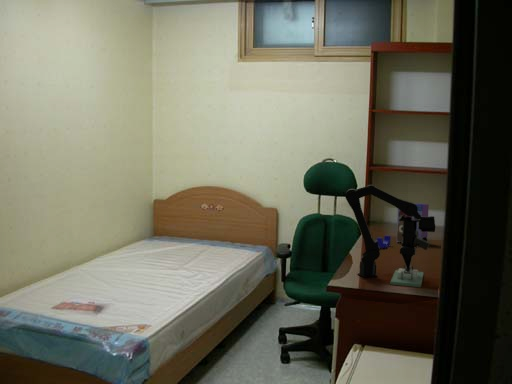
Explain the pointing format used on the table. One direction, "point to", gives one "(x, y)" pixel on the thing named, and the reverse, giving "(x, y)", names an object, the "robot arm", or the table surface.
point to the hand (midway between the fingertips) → (408, 267)
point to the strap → (407, 270)
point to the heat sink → (412, 275)
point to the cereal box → (421, 210)
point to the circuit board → (407, 280)
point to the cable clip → (383, 242)
